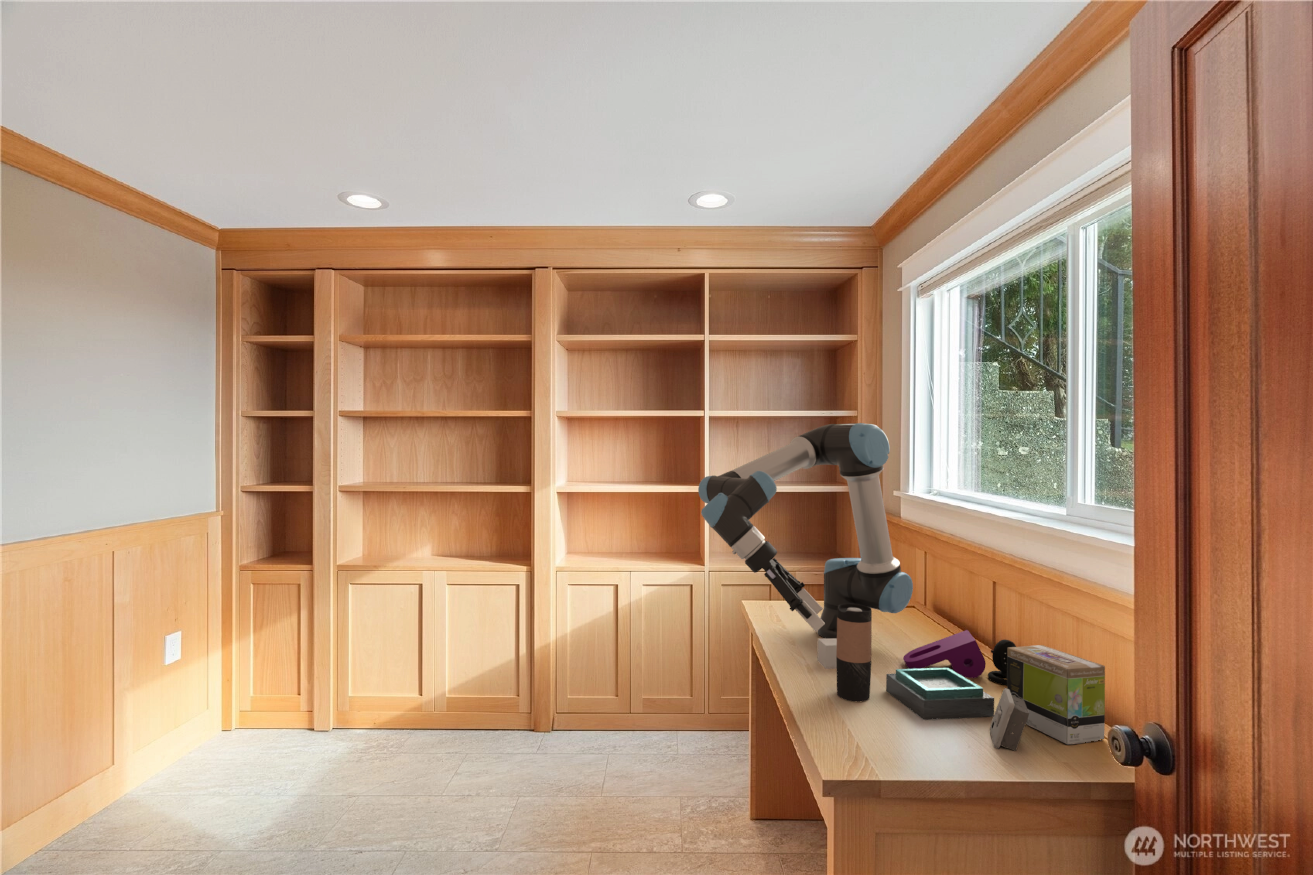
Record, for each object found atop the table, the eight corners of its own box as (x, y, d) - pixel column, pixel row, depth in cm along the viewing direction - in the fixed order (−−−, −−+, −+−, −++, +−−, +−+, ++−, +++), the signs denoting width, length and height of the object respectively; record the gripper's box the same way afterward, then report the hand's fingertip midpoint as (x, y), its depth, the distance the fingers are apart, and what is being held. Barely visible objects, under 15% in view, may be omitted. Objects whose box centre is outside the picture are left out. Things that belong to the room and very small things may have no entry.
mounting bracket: (920, 696, 166) (991, 672, 162) (905, 665, 167) (975, 640, 163) (915, 683, 175) (982, 660, 171) (901, 653, 176) (967, 629, 172)
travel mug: (871, 692, 152) (872, 605, 152) (870, 704, 145) (871, 613, 145) (836, 687, 154) (838, 602, 155) (834, 699, 147) (835, 609, 147)
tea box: (1106, 740, 129) (1107, 665, 129) (1066, 746, 126) (1067, 669, 126) (1041, 710, 143) (1042, 642, 143) (1004, 715, 140) (1005, 645, 140)
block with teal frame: (886, 691, 153) (886, 667, 153) (950, 688, 155) (950, 665, 155) (923, 719, 137) (923, 693, 137) (993, 716, 139) (994, 690, 139)
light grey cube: (825, 669, 168) (825, 645, 168) (817, 661, 174) (817, 638, 174) (848, 668, 168) (848, 645, 168) (839, 661, 174) (839, 638, 174)
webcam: (1008, 688, 156) (1009, 646, 156) (980, 678, 163) (981, 637, 163) (1029, 683, 160) (1030, 642, 160) (1000, 673, 166) (1001, 633, 167)
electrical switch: (989, 729, 133) (994, 684, 132) (1018, 737, 131) (1023, 691, 130) (993, 749, 124) (999, 701, 124) (1024, 757, 122) (1030, 708, 122)
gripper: (747, 552, 167) (806, 616, 163) (738, 570, 142) (808, 646, 139) (769, 532, 166) (829, 596, 162) (763, 547, 141) (834, 622, 138)
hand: (819, 619), depth 151 cm, fingers open, 13 cm apart
